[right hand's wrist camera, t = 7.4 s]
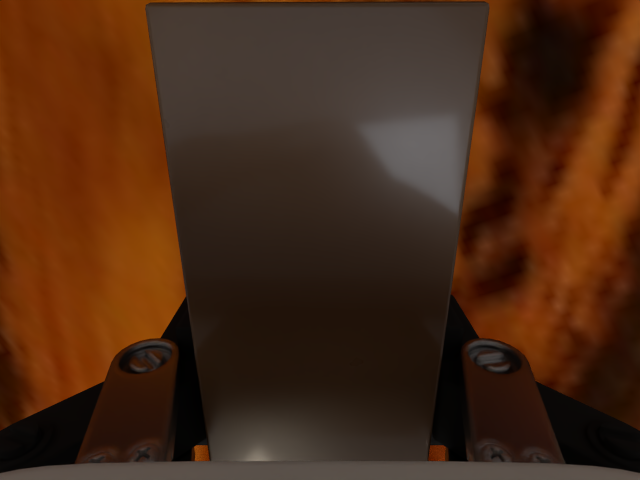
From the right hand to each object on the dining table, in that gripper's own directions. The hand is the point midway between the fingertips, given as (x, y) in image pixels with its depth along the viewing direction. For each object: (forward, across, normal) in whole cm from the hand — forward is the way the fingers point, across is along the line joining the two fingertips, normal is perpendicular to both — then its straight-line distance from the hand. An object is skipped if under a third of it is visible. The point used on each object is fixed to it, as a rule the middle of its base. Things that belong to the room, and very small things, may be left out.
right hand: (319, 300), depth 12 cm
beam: (+2, 0, -26) cm, 26 cm away
